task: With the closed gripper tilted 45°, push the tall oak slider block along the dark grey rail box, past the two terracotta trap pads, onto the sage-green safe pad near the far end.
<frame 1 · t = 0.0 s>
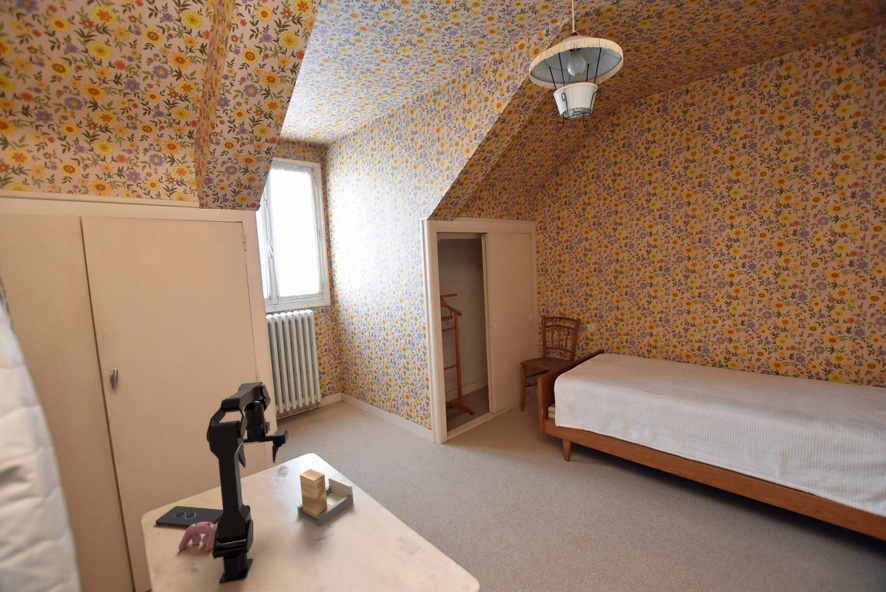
hand: (259, 464, 129), 15 cm above the table, tool pointing down, fingers open, 9 cm apart
rail box: (315, 516, 124), on the table
video game controller: (200, 545, 113), on the table
oak slider: (313, 493, 123), point 8 cm above the table, slide at 0.0 cm
smart home device: (191, 520, 126), on the table
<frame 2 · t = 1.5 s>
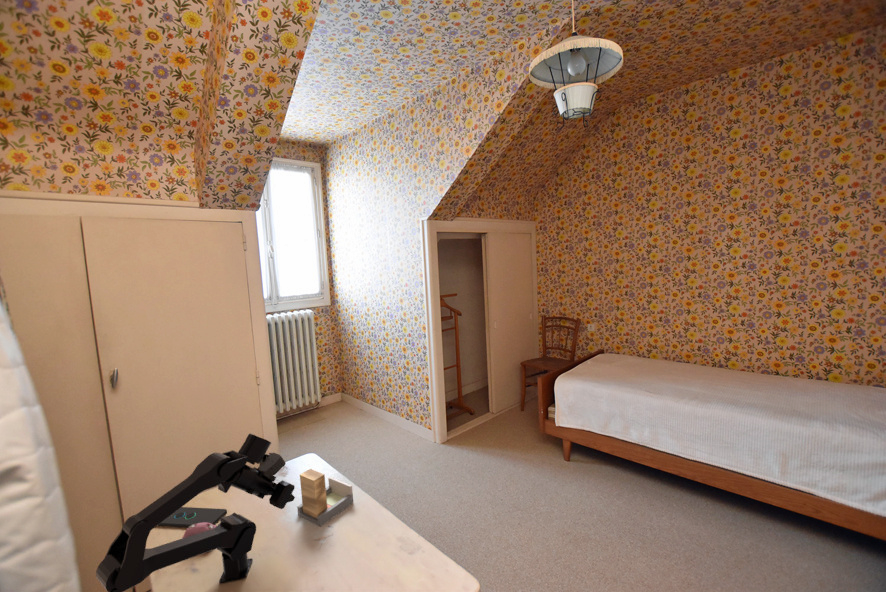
hand: (287, 495, 115), 12 cm above the table, tool tilted 45°, fingers open, 6 cm apart
nothing on the table moved.
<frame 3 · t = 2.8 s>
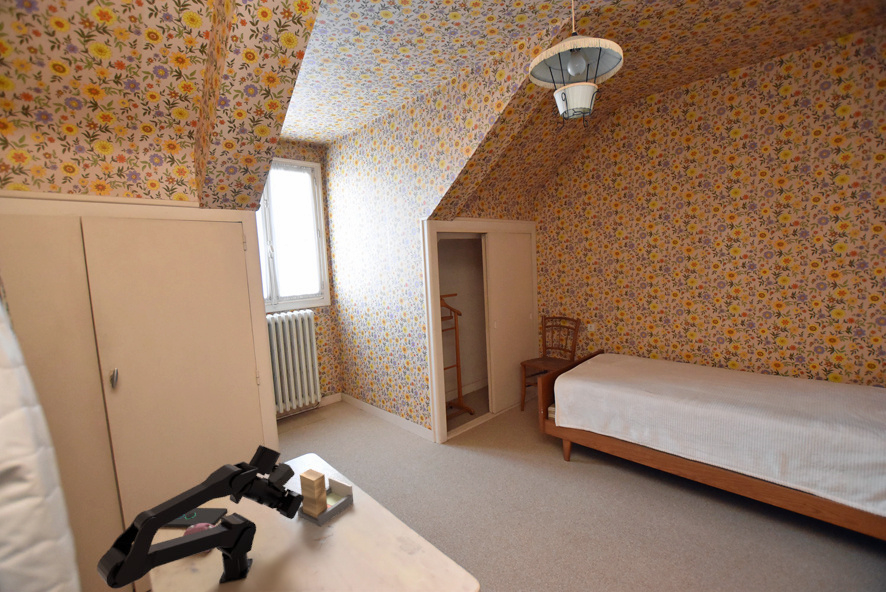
hand: (296, 504, 117), 8 cm above the table, tool tilted 45°, fingers closed
nothing on the table moved.
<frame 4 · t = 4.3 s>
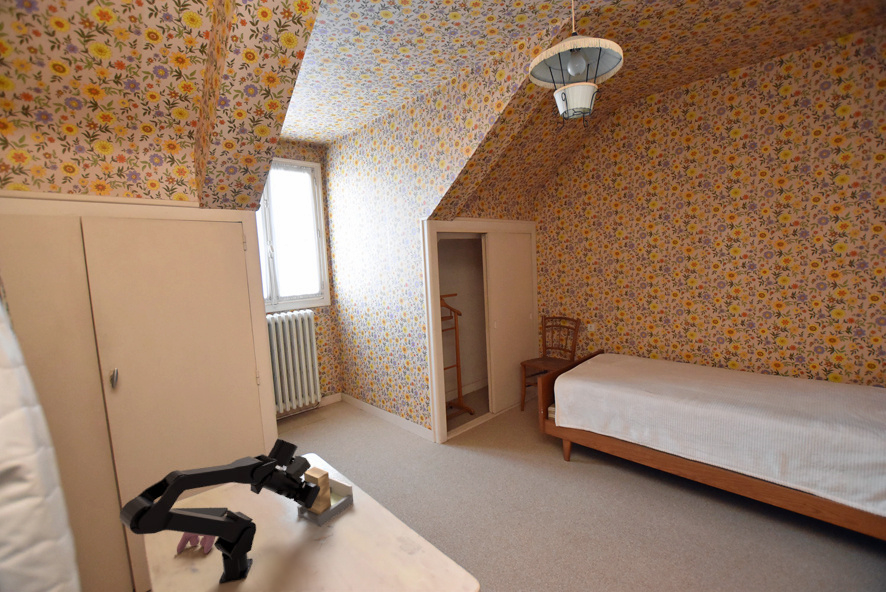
hand: (311, 495, 122), 7 cm above the table, tool tilted 45°, fingers closed, pressing on oak slider
oak slider: (317, 490, 124), point 8 cm above the table, slide at 1.5 cm, touching gripper
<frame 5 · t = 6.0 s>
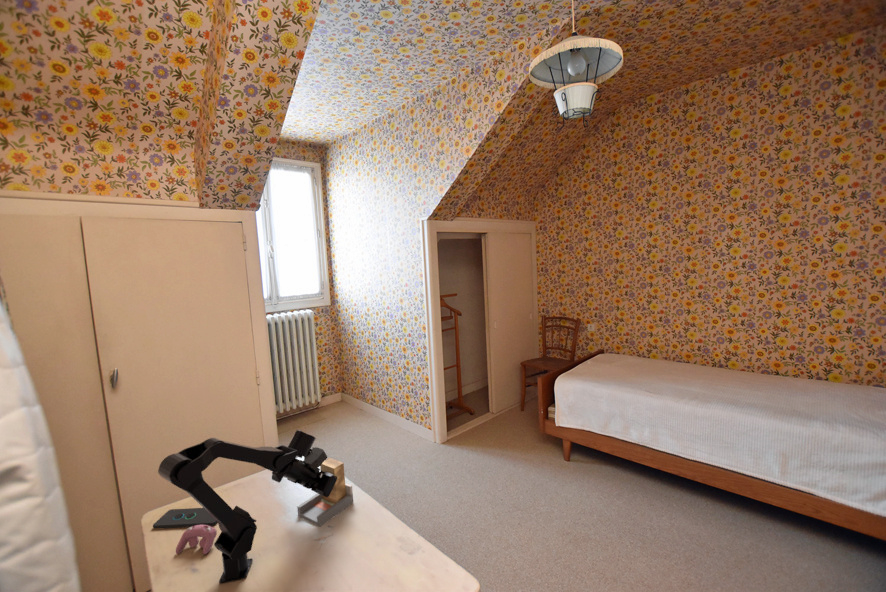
hand: (327, 486, 128), 7 cm above the table, tool tilted 45°, fingers closed, pressing on oak slider
oak slider: (333, 480, 129), point 8 cm above the table, slide at 7.9 cm, touching gripper
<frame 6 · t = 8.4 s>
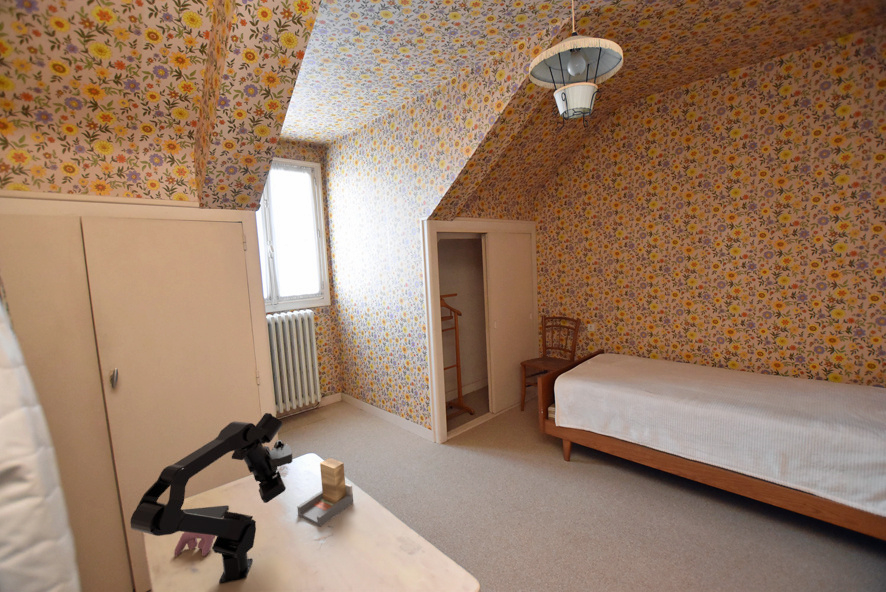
hand: (277, 490, 117), 13 cm above the table, tool tilted 25°, fingers closed
oak slider: (333, 480, 129), point 8 cm above the table, slide at 7.9 cm
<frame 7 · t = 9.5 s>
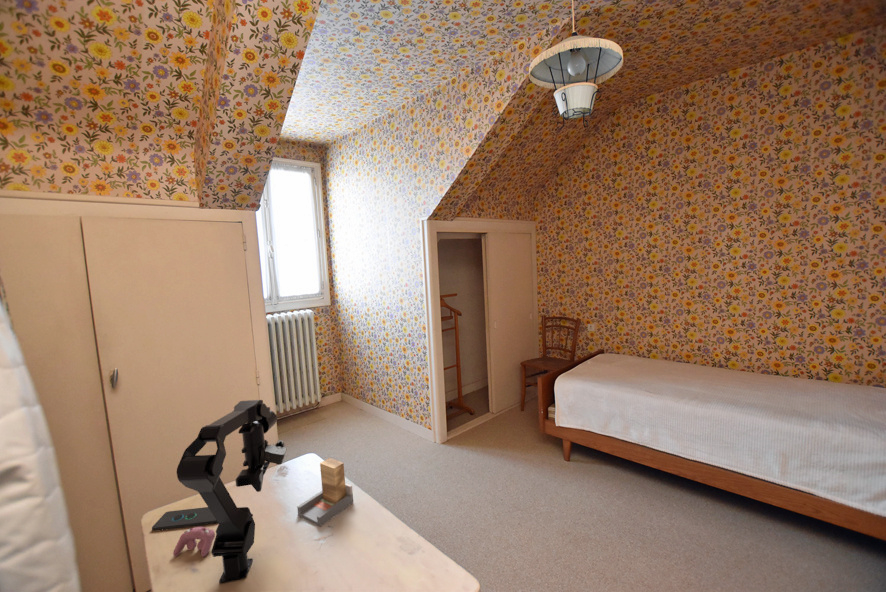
hand: (259, 491, 117), 13 cm above the table, tool pointing down, fingers closed
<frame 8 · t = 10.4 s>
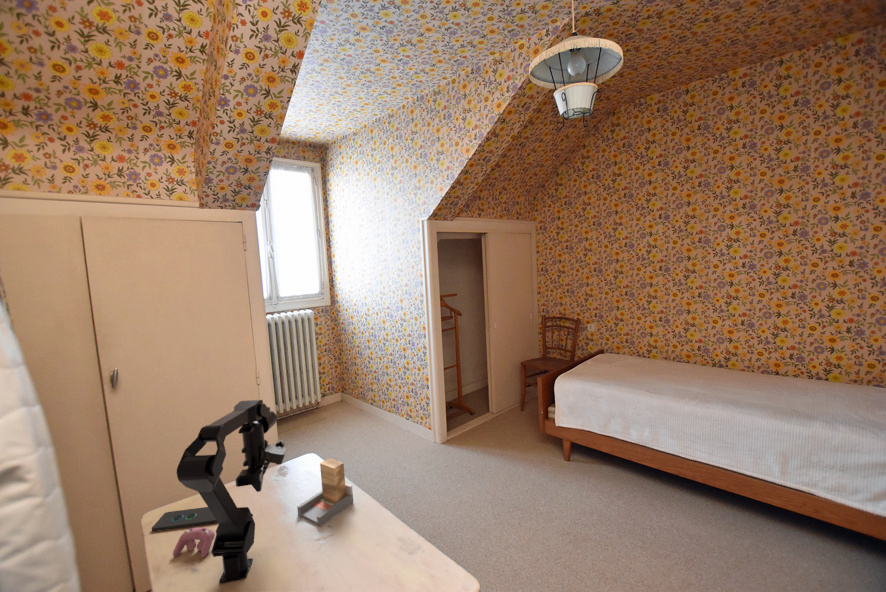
hand: (259, 491, 117), 13 cm above the table, tool pointing down, fingers closed
at the end: oak slider slide at 7.9 cm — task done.
